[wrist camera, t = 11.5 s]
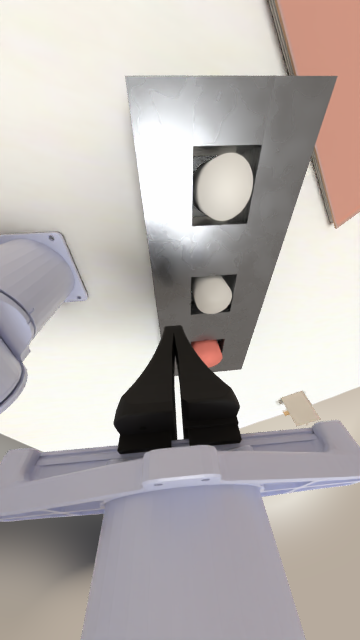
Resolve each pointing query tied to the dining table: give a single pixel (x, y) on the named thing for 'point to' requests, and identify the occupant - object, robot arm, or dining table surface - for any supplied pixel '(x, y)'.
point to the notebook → (347, 97)
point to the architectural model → (299, 408)
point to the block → (261, 209)
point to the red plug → (208, 351)
